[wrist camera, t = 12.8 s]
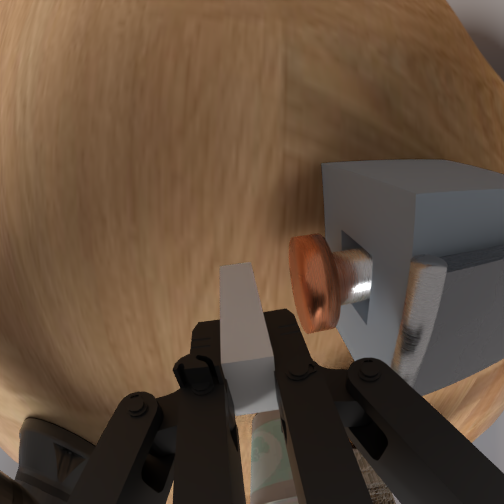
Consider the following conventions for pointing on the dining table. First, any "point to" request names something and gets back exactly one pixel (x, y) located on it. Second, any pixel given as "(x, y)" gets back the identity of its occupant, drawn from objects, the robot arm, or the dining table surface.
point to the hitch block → (404, 231)
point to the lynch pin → (326, 280)
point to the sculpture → (374, 482)
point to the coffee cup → (270, 462)
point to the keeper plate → (451, 318)
